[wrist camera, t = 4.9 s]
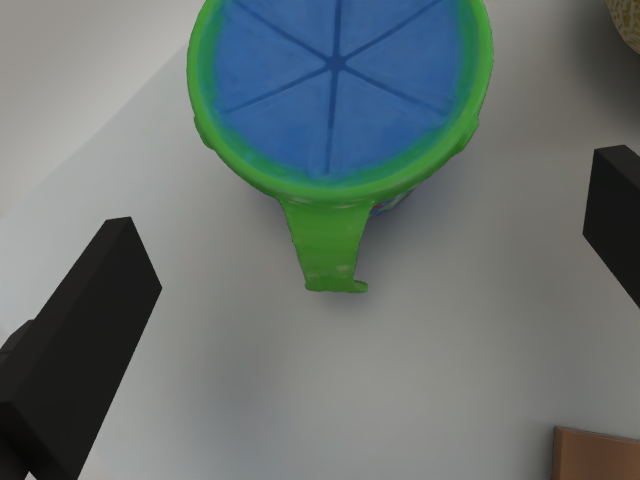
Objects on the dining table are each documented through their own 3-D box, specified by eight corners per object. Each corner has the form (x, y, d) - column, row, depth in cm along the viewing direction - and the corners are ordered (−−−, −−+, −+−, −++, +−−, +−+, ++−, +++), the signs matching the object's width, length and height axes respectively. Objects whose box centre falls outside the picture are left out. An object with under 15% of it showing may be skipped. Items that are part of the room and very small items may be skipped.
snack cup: (433, 318, 25) (464, 305, 15) (230, 284, 26) (135, 251, 16) (472, 32, 27) (520, -144, 17) (285, 17, 29) (231, -149, 19)
